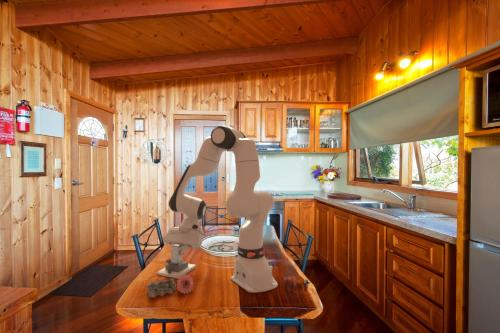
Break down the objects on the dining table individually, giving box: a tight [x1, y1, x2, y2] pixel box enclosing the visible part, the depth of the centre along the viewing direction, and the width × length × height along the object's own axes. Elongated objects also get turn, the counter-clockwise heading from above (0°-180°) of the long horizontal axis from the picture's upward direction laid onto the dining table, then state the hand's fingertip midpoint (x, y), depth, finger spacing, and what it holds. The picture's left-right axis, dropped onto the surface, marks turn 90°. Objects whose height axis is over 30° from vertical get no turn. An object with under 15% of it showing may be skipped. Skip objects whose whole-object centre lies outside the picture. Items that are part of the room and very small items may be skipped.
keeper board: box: [156, 258, 197, 279], centre depth 126 cm, size 15×12×8 cm
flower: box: [175, 273, 195, 295], centre depth 107 cm, size 8×8×6 cm
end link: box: [171, 243, 183, 266], centre depth 127 cm, size 4×4×10 cm
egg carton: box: [146, 277, 177, 298], centre depth 106 cm, size 11×8×4 cm
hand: (176, 253), depth 126 cm, fingers closed on end link, 4 cm apart
